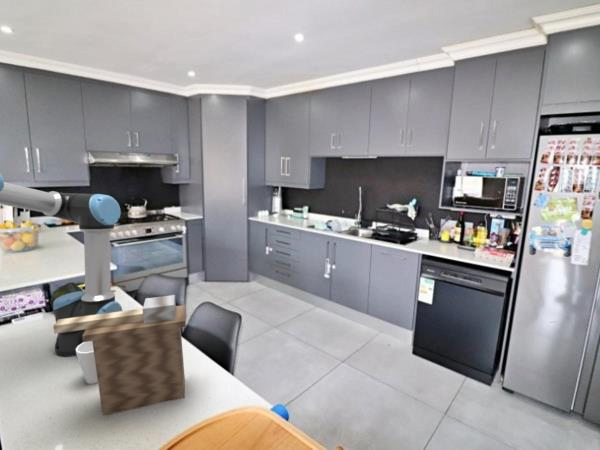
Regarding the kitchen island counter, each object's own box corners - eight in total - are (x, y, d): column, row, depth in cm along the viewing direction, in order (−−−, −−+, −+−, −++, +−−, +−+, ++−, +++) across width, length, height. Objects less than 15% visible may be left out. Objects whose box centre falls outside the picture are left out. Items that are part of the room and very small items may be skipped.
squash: (38, 303, 166) (53, 283, 162) (64, 292, 180) (78, 274, 177) (58, 322, 166) (73, 303, 162) (82, 310, 180) (97, 292, 177)
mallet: (52, 337, 93) (49, 321, 92) (62, 323, 101) (59, 308, 100) (175, 319, 104) (173, 304, 103) (175, 308, 111) (174, 294, 110)
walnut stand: (94, 419, 99) (82, 335, 94) (103, 393, 111) (93, 317, 105) (190, 398, 108) (185, 320, 103) (190, 375, 119) (185, 304, 114)
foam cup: (78, 389, 112) (73, 356, 109) (82, 374, 120) (77, 342, 117) (110, 381, 116) (106, 348, 114) (111, 366, 124) (107, 336, 122)
